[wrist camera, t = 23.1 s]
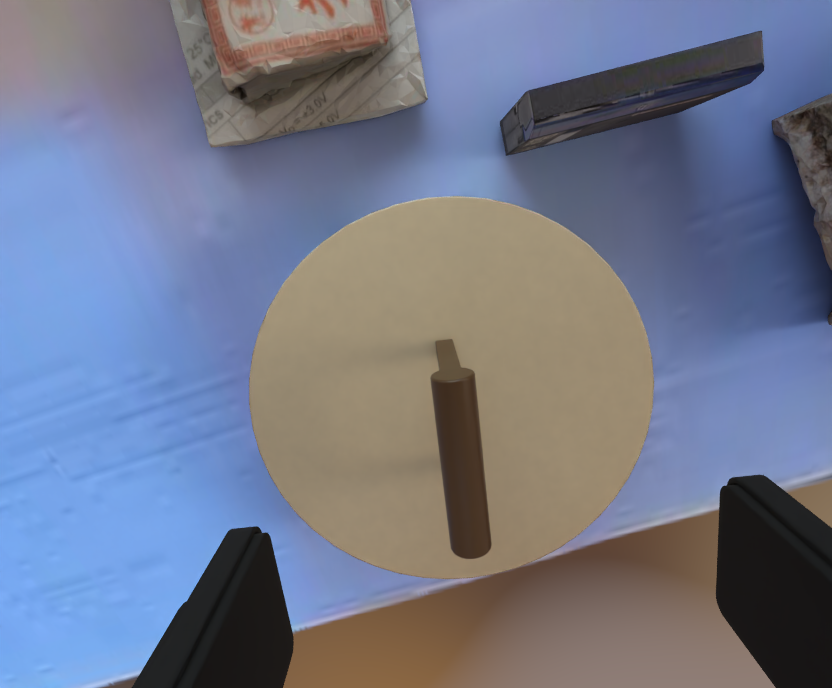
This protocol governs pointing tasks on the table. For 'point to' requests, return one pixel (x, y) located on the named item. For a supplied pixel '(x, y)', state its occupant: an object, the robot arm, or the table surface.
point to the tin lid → (451, 387)
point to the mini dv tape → (631, 93)
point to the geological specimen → (813, 161)
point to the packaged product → (297, 63)
